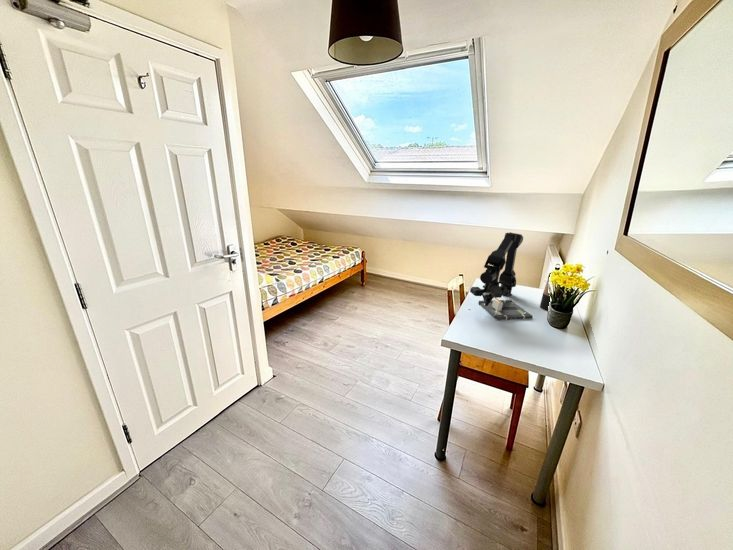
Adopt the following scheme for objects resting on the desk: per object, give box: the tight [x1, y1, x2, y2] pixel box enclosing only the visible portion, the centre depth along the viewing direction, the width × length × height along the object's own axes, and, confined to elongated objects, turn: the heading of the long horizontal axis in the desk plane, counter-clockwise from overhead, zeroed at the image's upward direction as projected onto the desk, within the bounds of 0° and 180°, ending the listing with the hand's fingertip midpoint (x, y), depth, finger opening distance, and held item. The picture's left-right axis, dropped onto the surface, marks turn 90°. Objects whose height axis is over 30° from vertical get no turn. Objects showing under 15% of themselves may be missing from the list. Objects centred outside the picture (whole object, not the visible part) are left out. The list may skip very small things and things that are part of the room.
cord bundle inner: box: [477, 299, 514, 306], centre depth 167 cm, size 2×20×2 cm, turn 99°
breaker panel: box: [479, 301, 531, 319], centre depth 159 cm, size 14×20×2 cm
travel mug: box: [539, 272, 552, 312], centre depth 162 cm, size 8×8×20 cm
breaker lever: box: [492, 298, 503, 311], centre depth 157 cm, size 5×2×5 cm, turn 10°
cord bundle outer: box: [494, 313, 534, 321], centre depth 152 cm, size 2×20×2 cm, turn 100°
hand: (486, 305), depth 156 cm, fingers closed
